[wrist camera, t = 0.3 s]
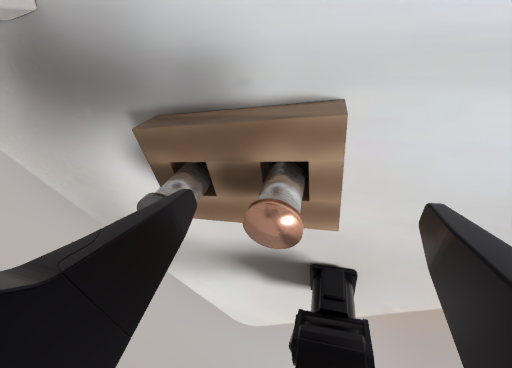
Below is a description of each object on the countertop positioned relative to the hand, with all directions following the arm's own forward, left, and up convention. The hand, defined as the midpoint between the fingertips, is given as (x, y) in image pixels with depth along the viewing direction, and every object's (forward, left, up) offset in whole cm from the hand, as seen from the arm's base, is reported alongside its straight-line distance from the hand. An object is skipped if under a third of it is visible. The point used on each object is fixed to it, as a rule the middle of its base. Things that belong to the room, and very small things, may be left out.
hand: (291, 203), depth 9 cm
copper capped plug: (-6, +2, -11) cm, 12 cm away
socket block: (-6, +7, -14) cm, 17 cm away
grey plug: (-6, +12, -11) cm, 17 cm away
